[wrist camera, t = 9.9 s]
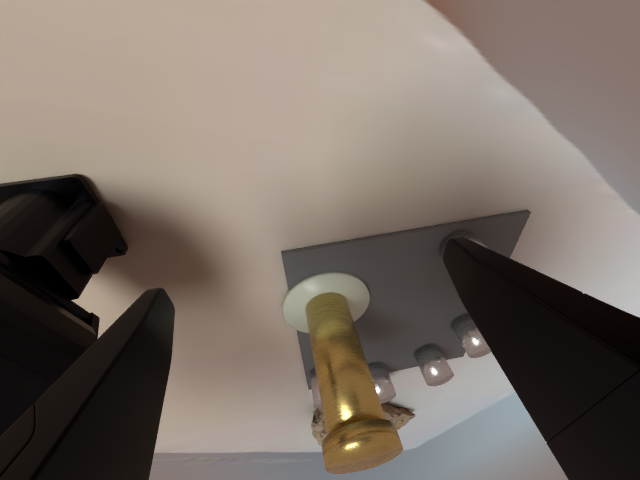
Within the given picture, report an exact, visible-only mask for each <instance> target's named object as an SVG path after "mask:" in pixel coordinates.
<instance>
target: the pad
mask: <svg viewBox="0 0 640 480" xmlns="http://www.w3.org/2000/svg"><path fill="white" fill-rule="evenodd" d="M327 292H335V293H339V294H342V295H343V296H345V298H346V299H347V302H348V305H349V308H350V311H351V314H352V317H353V320H354V322H355V321H356V320H357V319H358V318H360V317H361V316H362V314H363V313H364V312H365V311H366V309H367V307H368V304H369V300H370V295H369V291H368V289H367V287H366V285H365V283H364V282H363V281H362V280H361V279H360V278H359V277H357V276H356V275H353V274H351V273H348V272H342V271H327V272H321V273H317V274H314V275H311V276H309V277H306V278H304V279H302V280H301V281H299V282H298V283H296V284H295V285H294V286H293V287H292V288H291V289H290V290H289V291H288V292H287V294H286V295H285V298H284V300H283V305H282V308H283V316H284V319H285V321H286V322H287V323H288V324H289V325H290V326H291V327H292V328H294V329H296V330H298V331H301V332H305V333H309V330H308V324H307V318H306V313H305V307H306V305H307V303H308V302H309V301H310V300H311V299H312V298H313V297H315V296H317V295H319V294H322V293H327Z"/></svg>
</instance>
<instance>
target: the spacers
mask: <svg viewBox="0 0 640 480" xmlns="http://www.w3.org/2000/svg"><path fill="white" fill-rule="evenodd" d="M457 236H463V237H465V238H467V239H469V240H471V241H474V242H476V243H478V244H480V245H482V246H484V247H486V248H488V247H487V246H486V245H485V244H484V243H483V242H482V241H481V240H480V239H479V238H478V237H477V236H476V235H475V234H474V233H473V232H472V231H471V230H469V229H460V230H456V231H454V232H452V233H450V234H449V235H448V236H446V237H445V238H444V239H443V241H442V242H441V244H440V246H439V253H440V255H441V256H442V257H443V254H444V251H445V247H446V243H447V240H448V239H449V238H452V237H457ZM451 328H452V330H453V332H454V333H455V335H456V336H457V338H458V340H459V341H460V343H461V344H462V346H463V348H464V349H465V351H466V352H467V354H468V356H469V357H471V358H477V357H481V356H484V355H486V354H488V353H490V352H492V351H491V350H490V348H489V347H488V345H487V343H486V342H485V340H484V338H483V337H482V335H481V333H480V332H479V330H478V328H477V327H476V325H475V323H474V322H473V320H472V318H471V317H470V315H469V313H465V314H462V315H460V316H458V317H457V318H455V319H454V320H453V321H452V323H451ZM414 357H415V359H416V361H417V364H418V366H419V368H420V370H421V372H422V374H423V376H424V379H425V381H426V383H427V385H429V386H437V385H441V384H444V383H446V382H448V381H449V380H450V379H452V377H453V376H454V374H453V372H452V370H451V368H450V367H449V365H448V363H447V361H446V359H445V358H444V356H443V354H442V352H441V350H440V348H439V347H438V345H437V344H433V343H431V344H426V345H423V346H421V347H419V348H418V349H417V350H416V351H415V352H414ZM368 366H369V369H370V372H371V376H372V379H373V382H374V385H375V388H376V391H377V394H378V397H379V400H380V403H381V404H382V403H385V402H388V401H390V400H392V399H393V398H394V397H395V396H396V393H395V390H394V387H393V385H392V382H391V379H390V377H389V374H388V371H387V368H386V366H385V364H384V363H383V362H372V363H369V364H368ZM309 375H310V382H311V388H312V394H313V401H314V406H315V408H317V409H322V403H321V398H320V392H319V386H318V381H317V375H316V369H315V367H314V368H313V369H311V371H310V372H309Z"/></svg>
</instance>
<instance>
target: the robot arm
mask: <svg viewBox="0 0 640 480" xmlns="http://www.w3.org/2000/svg"><path fill="white" fill-rule="evenodd" d="M73 181H76V182H78V183H79V185H77V184H75V183H74V182H73ZM118 248H121V249H122V250H120V249H118ZM127 250H128V246H127V244H126V243H125V241H124V239H123V238H122V236H121V232H120V231H119V229H118V228H117V226H116V224H115V223H114V221H113V220H112V218H111V217H110V215H109V213H108V212H107V210H106V209H105V207H104V206H103V205H102V204H101V203H100V202H99V200H98V199H97V197H96V195H95V194H94V192H93V191H92V189H91V187H90V186H89V184H88V183H87V181H86V180H85V179H84V178H83V177H82V176H80V175H77V174H72V175H64V176H57V177H49V178H42V179H34V180H26V181H19V182H11V183H4V184H0V480H149V475H150V470H151V465H152V460H153V454H154V449H155V444H156V439H157V433H158V428H159V423H160V418H161V412H162V407H163V402H164V396H165V391H166V386H167V381H168V375H169V370H170V364H171V358H172V346H173V331H174V317H175V308H174V305H173V303H172V301H171V300H170V298H169V296H168V295H167V293H166V291H165V290H164V289H163V288H154V289H149V290H147V291H145V292H144V293H143V294H142V295H141V296H140V297H139V298H138V299H137V300H136V301H135V302H134V303H133V304H132V305H131V306H130V307H129V308H128V309H127V310H126V311H125V312H124V313H123V314H122V315H121V316H120V317H119V318H118V319H117V320H116V321H115V322H114V323H113V324H112V325H111V326H110V327H109V328H108V329H107V330H106V331H105V332H104V333H103V334H102V335H101V336H100V337H99V338H98V339H97V337H98V328H99V319H100V318H99V317H98V316H96V315H95V314H93V313H89V312H87V311H86V310H84V309H83V308H82V307H80V306H79V305H77V304H76V303H74V302H73V301H71V300H74V299H78V298H79V296H80V295H81V293H82V292H83V290H84V288H85V287H86V285H87V283H88V282H89V280H90V278H91V277H92V275H93V274H97V273H98V272H99V271H100V269H101V267H102V265H103V264H104V262H105V260H106V259H107V258H109V257H115V256H121V255H125V254H126V252H127ZM443 262H444V265H445V267H446V269H447V271H448V274H449V276H450V278H451V280H452V282H453V284H454V287H455V289H456V291H457V293H458V295H459V297H460V299H461V301H462V303H463V305H464V307H465V308H466V310H467V312H468V313H469V315H470V317H471V318H472V320H473V322H474V323H475V325H476V327H477V328H478V330H479V332H480V333H481V335H482V337H483V338H484V340H485V342H486V343H487V345H488V347H489V348H490V350H491V351H492V353H493V355H494V356H495V358H496V360H497V361H498V363H499V365H500V366H501V368H502V370H503V371H504V373H505V375H506V376H507V378H508V380H509V381H510V383H511V385H512V386H513V388H514V390H515V391H516V393H517V394H518V396H519V398H520V400H521V401H522V403H523V405H524V406H525V408H526V410H527V411H528V413H529V414H530V416H531V418H532V419H533V421H534V423H535V424H536V426H537V428H538V429H539V431H540V433H541V434H542V436H543V437H544V439H545V441H546V442H547V445H548V446H549V448H550V450H551V451H552V453H553V454H554V456H555V458H556V460H557V461H558V463H559V464H560V466H561V468H562V469H563V471H564V473H565V475H566V476H567V478H568V480H640V318H639V317H636V316H634V315H632V314H629V313H627V312H625V311H622V310H620V309H618V308H616V307H613V306H611V305H609V304H607V303H605V302H602V301H600V300H598V299H596V298H594V297H592V296H589V295H587V294H583V293H582V292H581V291H579V290H576V289H574V288H572V287H570V286H568V285H566V284H564V283H561V282H559V281H557V280H555V279H553V278H551V277H549V276H546V275H544V274H542V273H540V272H538V271H536V270H534V269H531V268H529V267H527V266H525V265H523V264H521V263H519V262H516V261H514V260H512V259H510V258H508V257H506V256H504V255H501V254H499V253H497V252H495V251H493V250H491V249H489V248H486V247H484V246H482V245H480V244H478V243H476V242H474V241H471V240H469V239H467V238H465V237H463V236H457V237H452V238H449V239H448V240H447V243H446V247H445V251H444V254H443Z"/></svg>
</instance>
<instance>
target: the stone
mask: <svg viewBox="0 0 640 480" xmlns="http://www.w3.org/2000/svg"><path fill="white" fill-rule="evenodd" d="M381 406H382V409H383V412H384V415H385V418H386V420H390V421H392V422H394V424H395V426H396V429H397V430H399V429H400V428H401V427H402V426H404V425H405V424H406V423H408V422H409V420H410V419H412V418H413V417H415V414H413V413H412V412H410V411H409V410H408V409H405V408H402V407H393V406H391V405H389V404H384V403H382V404H381ZM311 426H312V434H313V436H314V438H316V439H317V440H318V443H319V445H321V446H322V441H323V439H324V438H325V437H326V436H327V432H326V426H325V420H324V415H323V409H317V410H315V411H314V416H313V420H312V425H311Z"/></svg>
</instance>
